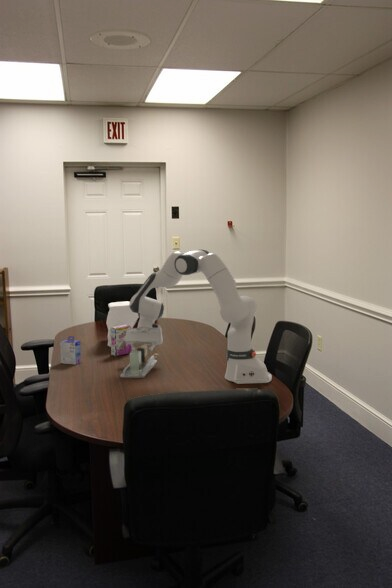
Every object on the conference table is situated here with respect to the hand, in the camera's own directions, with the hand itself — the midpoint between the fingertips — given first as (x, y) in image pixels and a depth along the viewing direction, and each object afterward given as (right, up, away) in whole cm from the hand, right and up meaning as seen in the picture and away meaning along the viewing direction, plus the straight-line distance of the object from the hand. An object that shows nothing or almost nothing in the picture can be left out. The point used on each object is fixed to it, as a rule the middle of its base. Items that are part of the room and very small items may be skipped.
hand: (141, 350), depth 258 cm
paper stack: (-18, -1, +52) cm, 55 cm away
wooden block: (0, -7, +2) cm, 7 cm away
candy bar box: (-14, -5, +26) cm, 30 cm away
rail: (-1, -9, -4) cm, 10 cm away
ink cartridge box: (-39, -8, +10) cm, 41 cm away
